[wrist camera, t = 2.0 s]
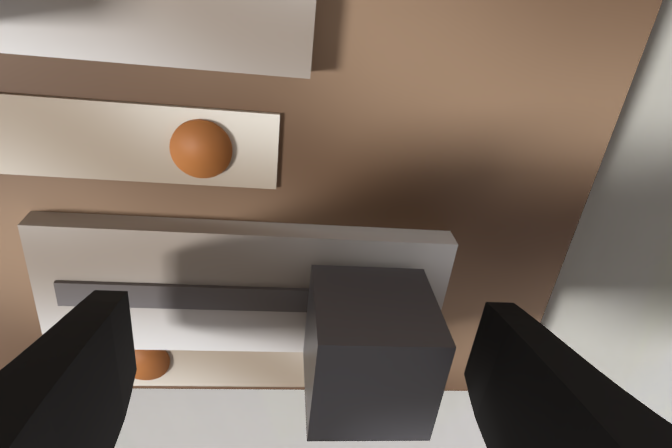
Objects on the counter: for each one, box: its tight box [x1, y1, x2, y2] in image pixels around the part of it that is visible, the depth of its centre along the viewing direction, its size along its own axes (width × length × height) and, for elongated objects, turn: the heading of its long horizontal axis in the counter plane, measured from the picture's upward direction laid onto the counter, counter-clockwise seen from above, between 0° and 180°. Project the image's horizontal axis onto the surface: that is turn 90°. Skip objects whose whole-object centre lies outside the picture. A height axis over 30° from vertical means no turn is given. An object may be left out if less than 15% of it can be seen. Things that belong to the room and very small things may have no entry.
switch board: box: [0, 0, 663, 391], centre depth 10 cm, size 13×18×2 cm
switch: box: [303, 265, 456, 441], centre depth 10 cm, size 2×2×2 cm
